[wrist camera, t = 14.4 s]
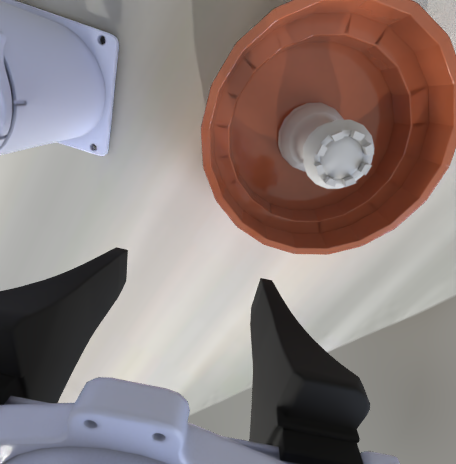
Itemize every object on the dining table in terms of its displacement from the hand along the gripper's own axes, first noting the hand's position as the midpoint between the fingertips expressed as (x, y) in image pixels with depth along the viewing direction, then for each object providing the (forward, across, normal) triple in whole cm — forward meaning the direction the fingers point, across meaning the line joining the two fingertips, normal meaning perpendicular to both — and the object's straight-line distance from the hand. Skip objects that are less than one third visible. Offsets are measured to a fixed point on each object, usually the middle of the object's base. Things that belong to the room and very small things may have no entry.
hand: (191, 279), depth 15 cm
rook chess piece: (+9, -6, -8) cm, 13 cm away
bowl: (+9, -6, -8) cm, 13 cm away
